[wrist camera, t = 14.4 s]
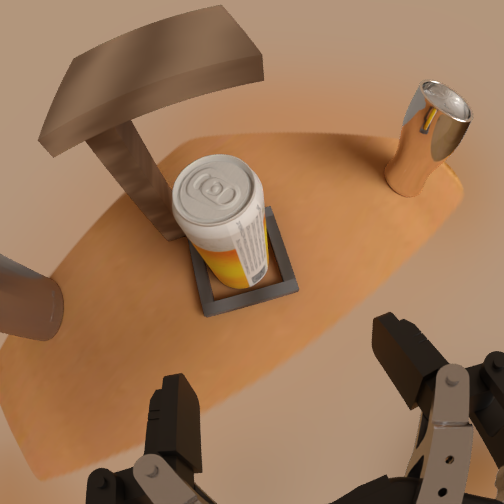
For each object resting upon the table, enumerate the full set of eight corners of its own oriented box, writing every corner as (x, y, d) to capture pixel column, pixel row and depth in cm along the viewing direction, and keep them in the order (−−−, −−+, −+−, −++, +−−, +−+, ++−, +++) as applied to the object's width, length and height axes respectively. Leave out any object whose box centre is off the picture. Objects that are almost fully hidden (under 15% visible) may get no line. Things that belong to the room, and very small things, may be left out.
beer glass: (393, 151, 35) (426, 71, 21) (431, 179, 33) (478, 106, 19) (372, 178, 33) (409, 91, 19) (414, 210, 31) (470, 133, 17)
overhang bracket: (183, 323, 29) (14, 245, 8) (162, 200, 35) (73, 58, 14) (298, 291, 29) (345, 134, 8) (256, 172, 35) (235, 2, 14)
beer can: (236, 228, 32) (208, 138, 18) (280, 257, 31) (281, 174, 17) (203, 269, 31) (148, 200, 17) (246, 301, 29) (219, 250, 15)
